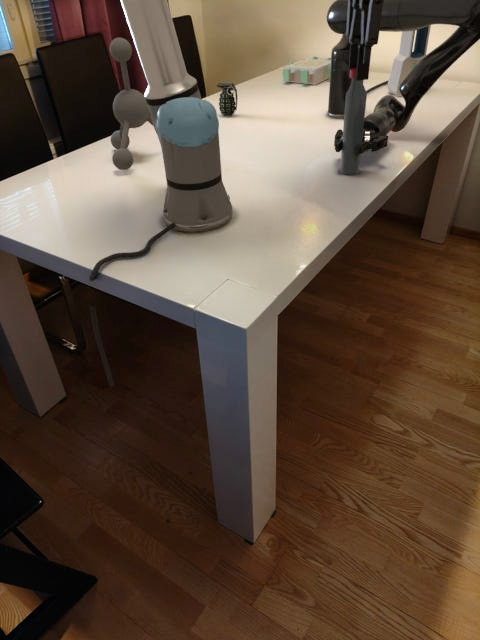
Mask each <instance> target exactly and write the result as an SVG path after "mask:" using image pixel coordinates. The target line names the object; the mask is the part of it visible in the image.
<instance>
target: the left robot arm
mask: <svg viewBox="0 0 480 640" xmlns="http://www.w3.org/2000/svg"><path fill="white" fill-rule="evenodd" d="M383 2H384V0H348V10H347V27H346V39H349V43H351V44H350V53H349V65H348V76H349V74H350V69H351V68H357V69H356V80H357V81H358V80H364V81H366V80H368V81H369V75H370V65H371V56H372V49H373V48H372V47H374V45H378V43H379V37H380V31H379V30H380V23H381V15H382V8H383ZM120 3H121V7H122V9H123V13H124V15H125V18H126V19H125V20H126V23H127V25H128V27H129V31H130V35H131V37H132V39H133V43H134V46H135V49H136V52H137V55H138V58H139V61H140V65H141V67H142V70H143V73H144V77H145V80H146V82H147V88H146V89H145V92H144V94H143V95H144V96H145V99H146V102H147V105H148V108H149V111H150V113H149V115H150V116H151V117H152V122H153V125H152V127H153V128H154V129H153V130H154V131H155V134H156V135H157V138H158V141H159V144H160V148H161V153H162V159H163V168H164V173H165V180H166V190H165V191H166V192H165V196H164V203H163V207H162V218H163V222H164V224H165V228H163V229H161V231H159V232H157V233H156V234H155V235H154V236H152V237H151V238H150V239H149V240H148V241H147V242H146V244H145V247H144V248H143V249H140V250H138V251H132V252H118V253H117V252H116V253H112V254H111V255H108V256H105V257H103V258H101V259H100V260H98V261H97V262H96V264H95V265H94V267H93V269H92V270H91V273H90V276H89V279H88V281H89V282H94V281H95V280H96V278H97V274H98V272H99V271H100V269H101V267H103V266H104V265H105V264H107V263H109V262H111V261H113V260H117V259H125V258H126V259H127V258H138V257H141V256H143V255H145V254H147V253H148V252H149V251H150V249H151V248H152V245H153V244H154V243H155V242H156V241H157V240H159V239H160V238H162V237H163V236H165V235H166V234H167V233H168V232H170V231H171V230H173V231H177V232H180V233H190V234H191V233H192V234H193V233H194V234H195V233H196V234H197V233H205V232H206V233H207V232H210V231H215V230H216V229H220V228H222V227H224V226H226V225H227V224H228V223H230V221H231V220H232V218H233V216H234V212H233V211H234V210H233V205H232V201H231V196H230V194H229V193H228V192H227V190H226V187H225V184H224V182H223V175H222V174H223V173H222V164H221V163H222V161H221V147H220V146H221V145H220V134H219V128H220V122H219V118H218V114H217V109H216V108H215V105H213V103H211V102H210V101H208V100H207V99H206V100H205V99H202V96H201V92H200V88H199V85H198V80H197V79H196V78H195V77H194V76H192V75H191V74H189V73H188V71H187V67H186V64H185V60H184V57H183V54H182V50H181V47H180V42H179V39H178V35H177V31H176V28H175V23H174V21H173V17H172V14H171V13H172V12H171V10H170V6H169V2H168V0H120ZM359 42H361V43H359ZM89 309H90V310H89V311H90V316H91V318H90V319H91V324H92V330H93V333H94V339H95V341H96V345H97V348H98V352H99V355H100V358H101V361H102V364H103V368H104V371H105V374H106V377H107V381H108V385H109V387H114V386H115V382H114V378H113V374H112V371H111V368H110V365H109V361H108V359H107V354H106V352H105V349H104V345H103V341H102V337H101V333H100V328H99V323H98V317H97V309H96V306H93V305H91V304H90V305H89Z"/></svg>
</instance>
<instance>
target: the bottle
mask: <svg viewBox="0 0 480 640" xmlns="http://www.w3.org/2000/svg"><path fill="white" fill-rule="evenodd" d="M364 81H365V80H358V81H357V80H356V79H352V84H351V86H350V88H349V89H348V91H347V94H346V101H345V114H344V118H343V127H342V128H343V129H342V131H343V139H342V150H341V151H340V152H341V153H340V165H339V166H340V167H339V173H341V174H342V175H346V176H353V175H357V174H358V173H359V171H360V164H361V155H362V154H360V155H356V151H357V146H358V145H359V144H361V143H362V136H363V126H364V118H365V117H366V105H367V97H368V96H367V94H368V93H367V92H366V91H367V89H366V87H365V85H364Z"/></svg>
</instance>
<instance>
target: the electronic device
mask: <svg viewBox="0 0 480 640" xmlns="http://www.w3.org/2000/svg"><path fill="white" fill-rule="evenodd" d="M431 27H432V25H429V26H426V27H424V28H422V29H419V30H415V31H408V32H401V37H400V43H399V50H398V51H399V52H398V54H397V55H396V56H395V57H394V59H393V62H392V66H391V70H390V72H389V73H390V74H389V76H388V80H389V81H388V80H387V81H388V83H387V91H388V92H389V93H390V94H391V95H395V96H397V97H403V96H402V95H401V93H400V90H399V87H400V84H401V83H402V82H403V80H404V79H405V78H406V77H407V75H408V74H409V73H410V72H411V70H412V69H413V68H414V67H415V66H416V64H417V63H418V62H419V61H420V60H421V59H423V58H424V57H425V56H426V55H427V51H428V45H429V39H430V34H431ZM415 33H416V34H415Z"/></svg>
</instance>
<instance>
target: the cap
mask: <svg viewBox="0 0 480 640" xmlns="http://www.w3.org/2000/svg"><path fill="white" fill-rule="evenodd" d="M356 69H357V68H351V69H350V74H349V77H350V78H352V79H356Z"/></svg>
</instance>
